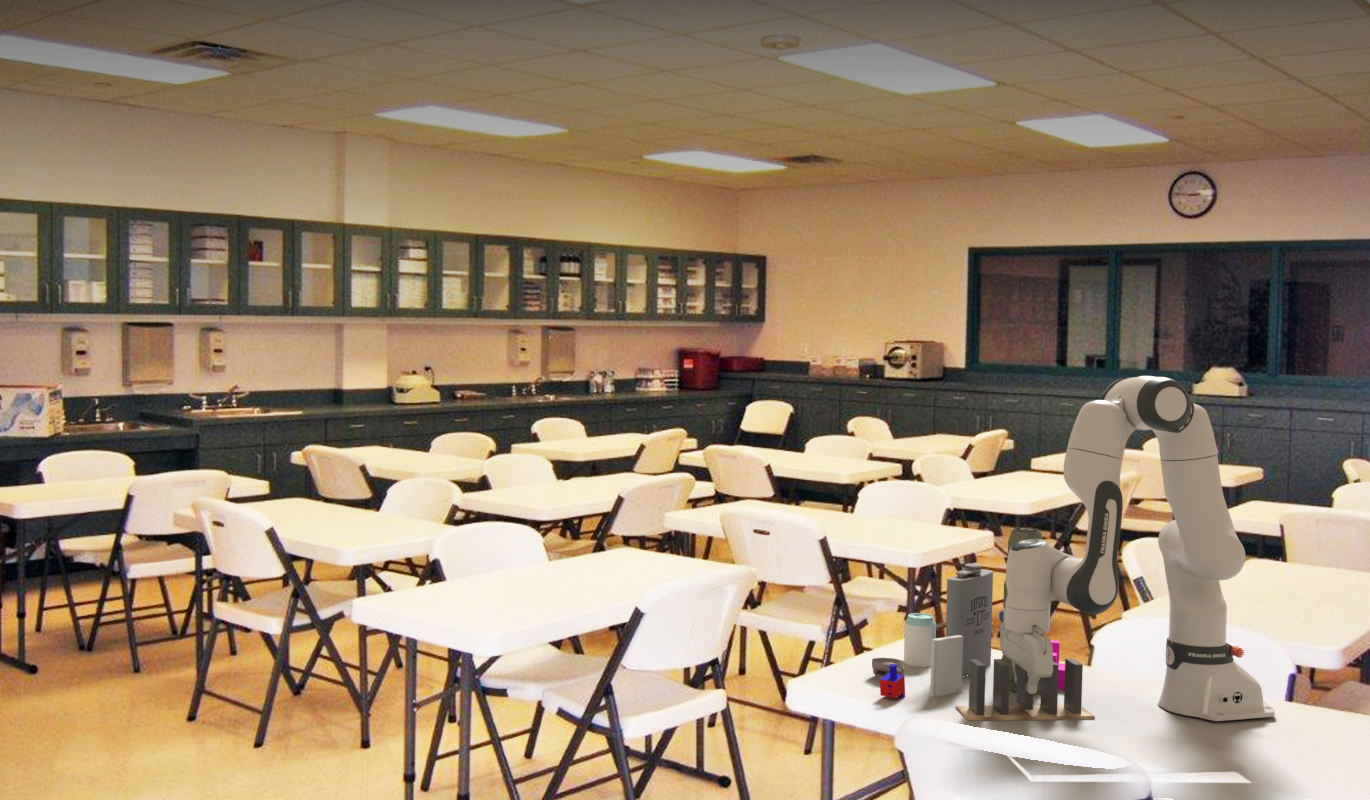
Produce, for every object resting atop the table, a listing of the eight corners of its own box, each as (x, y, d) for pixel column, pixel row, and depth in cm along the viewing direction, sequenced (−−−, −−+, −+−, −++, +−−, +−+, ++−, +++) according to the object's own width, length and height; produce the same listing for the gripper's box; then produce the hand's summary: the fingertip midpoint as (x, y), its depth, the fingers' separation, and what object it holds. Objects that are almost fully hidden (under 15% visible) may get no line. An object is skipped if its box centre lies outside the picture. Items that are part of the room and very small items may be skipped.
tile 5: (1071, 706, 266) (1072, 658, 265) (1081, 713, 261) (1082, 664, 260) (1063, 706, 266) (1065, 658, 265) (1073, 713, 261) (1074, 664, 260)
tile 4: (1047, 707, 265) (1049, 658, 265) (1057, 714, 260) (1058, 664, 260) (1040, 707, 265) (1041, 658, 265) (1049, 714, 260) (1050, 664, 260)
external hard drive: (962, 693, 277) (964, 636, 276) (934, 699, 272) (936, 640, 271) (957, 692, 278) (958, 634, 277) (929, 697, 273) (930, 639, 273)
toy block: (1067, 691, 281) (1068, 657, 280) (1037, 688, 283) (1038, 654, 282) (1070, 674, 295) (1071, 642, 295) (1041, 672, 297) (1042, 639, 297)
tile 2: (1000, 707, 264) (1001, 659, 264) (1008, 714, 259) (1010, 665, 259) (992, 707, 264) (993, 659, 264) (1000, 714, 259) (1002, 665, 259)
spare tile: (1024, 702, 265) (1025, 654, 264) (1033, 709, 260) (1034, 660, 259) (1016, 702, 265) (1017, 654, 264) (1025, 709, 260) (1026, 660, 259)
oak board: (1078, 707, 268) (1078, 704, 267) (1094, 718, 260) (1094, 715, 260) (955, 709, 265) (955, 706, 265) (968, 720, 257) (968, 717, 257)
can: (898, 667, 299) (899, 615, 298) (913, 661, 304) (914, 610, 303) (925, 672, 294) (926, 620, 293) (940, 666, 299) (941, 615, 299)
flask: (961, 682, 286) (964, 569, 285) (942, 678, 289) (945, 567, 288) (996, 667, 299) (999, 560, 298) (977, 664, 302) (980, 557, 301)
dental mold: (885, 677, 290) (886, 655, 290) (911, 683, 285) (911, 660, 285) (863, 683, 284) (864, 661, 284) (889, 689, 279) (889, 667, 279)
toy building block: (880, 703, 270) (879, 666, 269) (889, 696, 274) (888, 659, 272) (896, 706, 268) (894, 669, 267) (905, 698, 271) (903, 662, 270)
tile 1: (976, 708, 264) (977, 659, 263) (984, 715, 259) (985, 665, 258) (968, 708, 264) (969, 659, 263) (976, 715, 259) (977, 665, 258)
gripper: (1062, 632, 251) (1060, 702, 252) (1024, 609, 272) (1022, 675, 272) (1030, 632, 251) (1028, 703, 251) (995, 610, 271) (993, 675, 272)
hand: (1025, 688), depth 262 cm, fingers closed on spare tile, 5 cm apart
